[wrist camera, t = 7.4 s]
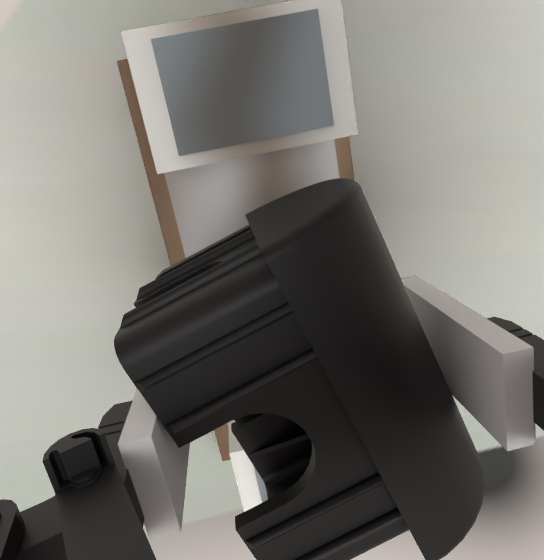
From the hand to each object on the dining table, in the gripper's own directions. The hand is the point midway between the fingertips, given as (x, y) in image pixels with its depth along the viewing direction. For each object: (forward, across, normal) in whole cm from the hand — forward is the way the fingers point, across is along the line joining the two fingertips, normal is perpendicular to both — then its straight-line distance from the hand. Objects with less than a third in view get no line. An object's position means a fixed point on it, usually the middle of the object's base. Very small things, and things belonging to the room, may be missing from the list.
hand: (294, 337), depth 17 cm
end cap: (+1, 0, 0) cm, 1 cm away
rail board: (+11, 0, 0) cm, 11 cm away
